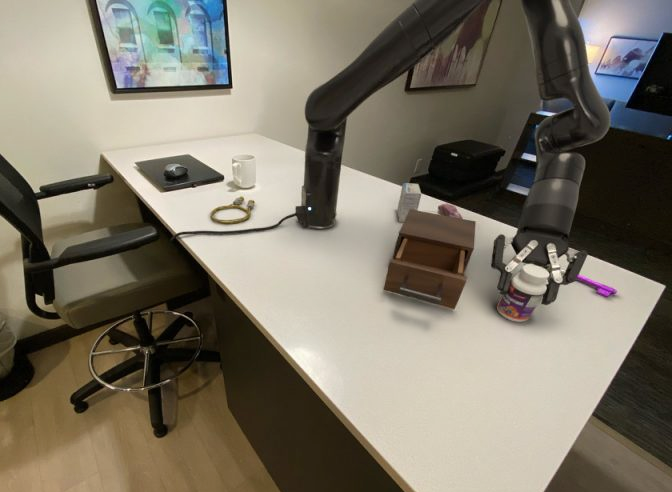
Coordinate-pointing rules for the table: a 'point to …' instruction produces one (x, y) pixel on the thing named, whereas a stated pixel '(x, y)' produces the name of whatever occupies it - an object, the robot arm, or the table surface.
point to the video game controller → (449, 211)
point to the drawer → (427, 272)
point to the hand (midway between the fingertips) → (524, 298)
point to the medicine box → (408, 200)
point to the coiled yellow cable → (237, 201)
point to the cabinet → (438, 231)
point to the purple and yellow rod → (598, 286)
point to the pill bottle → (523, 293)
